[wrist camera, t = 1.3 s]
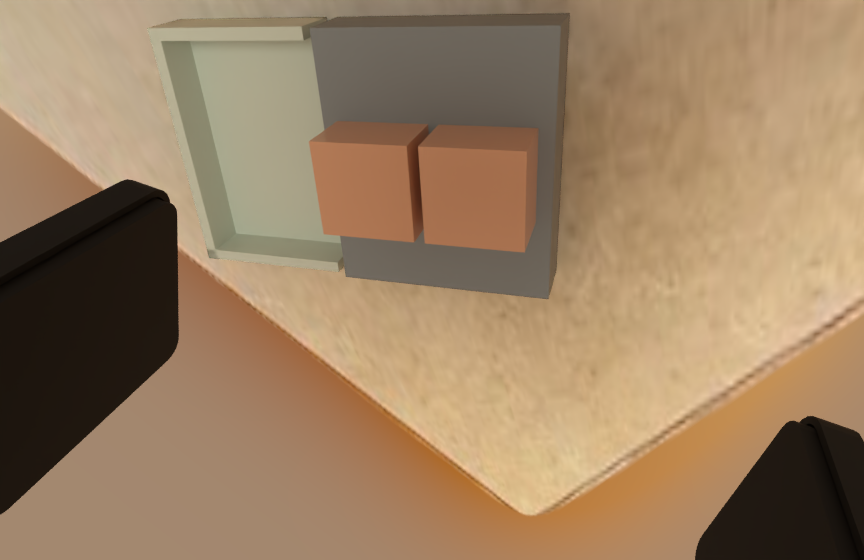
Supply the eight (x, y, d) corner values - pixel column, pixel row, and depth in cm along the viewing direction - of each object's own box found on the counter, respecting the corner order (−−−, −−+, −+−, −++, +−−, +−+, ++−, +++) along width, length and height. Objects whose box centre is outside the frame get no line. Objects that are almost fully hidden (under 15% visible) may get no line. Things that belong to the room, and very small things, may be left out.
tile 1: (428, 124, 28) (406, 145, 26) (433, 214, 31) (414, 242, 28) (337, 121, 30) (308, 141, 27) (349, 208, 32) (323, 234, 30)
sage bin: (326, 17, 30) (301, 26, 28) (357, 250, 37) (338, 272, 35) (180, 19, 33) (147, 28, 31) (233, 238, 39) (209, 257, 37)
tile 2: (538, 128, 27) (526, 151, 25) (535, 222, 29) (524, 252, 27) (438, 124, 28) (418, 146, 26) (443, 215, 31) (424, 243, 28)
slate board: (569, 13, 27) (560, 25, 25) (556, 269, 34) (548, 299, 31) (337, 16, 30) (309, 28, 28) (366, 251, 37) (345, 276, 34)
